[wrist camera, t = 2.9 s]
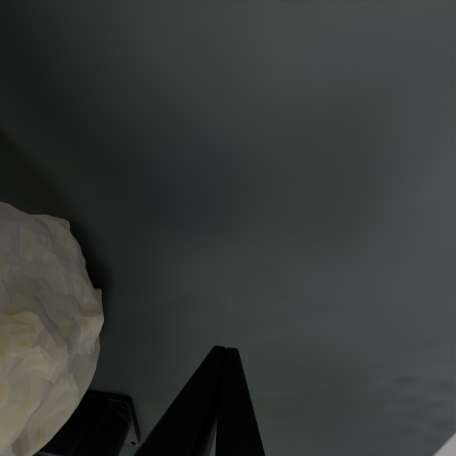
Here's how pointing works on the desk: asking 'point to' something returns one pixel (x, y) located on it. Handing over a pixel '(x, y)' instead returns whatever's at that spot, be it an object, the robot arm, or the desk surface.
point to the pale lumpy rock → (43, 329)
